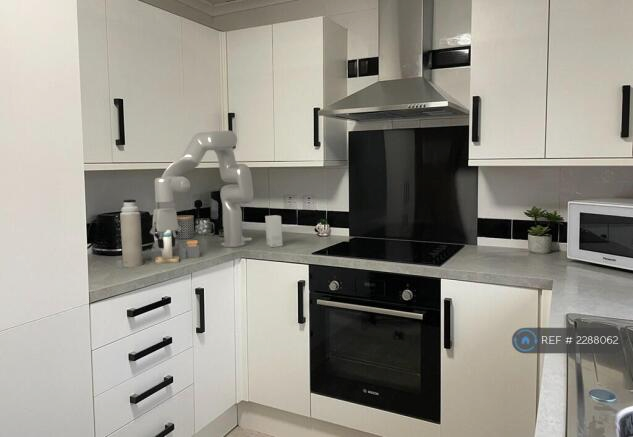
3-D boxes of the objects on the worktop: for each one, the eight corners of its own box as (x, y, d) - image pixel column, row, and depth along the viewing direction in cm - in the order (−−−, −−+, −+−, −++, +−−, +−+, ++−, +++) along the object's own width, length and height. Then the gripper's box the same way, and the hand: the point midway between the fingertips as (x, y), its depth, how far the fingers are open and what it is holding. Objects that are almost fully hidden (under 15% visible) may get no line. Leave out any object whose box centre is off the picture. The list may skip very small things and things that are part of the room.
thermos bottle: (119, 265, 216) (115, 199, 213) (136, 262, 222) (132, 198, 219) (129, 267, 211) (125, 200, 208) (146, 264, 217) (143, 199, 214)
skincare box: (282, 246, 258) (282, 216, 256) (270, 247, 255) (269, 216, 254) (277, 244, 266) (277, 214, 264) (265, 245, 263) (264, 215, 262)
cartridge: (174, 258, 223) (173, 229, 222) (165, 260, 220) (163, 230, 219) (168, 257, 227) (167, 228, 226) (159, 258, 224) (157, 229, 222)
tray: (179, 259, 228) (179, 255, 228) (179, 262, 221) (178, 258, 221) (156, 260, 226) (155, 257, 226) (155, 263, 219) (154, 260, 218)
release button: (197, 253, 237) (197, 240, 237) (197, 255, 233) (197, 241, 232) (187, 254, 236) (186, 240, 235) (187, 255, 232) (186, 242, 231)
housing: (199, 254, 240) (198, 239, 239) (199, 257, 231) (199, 242, 230) (152, 256, 235) (151, 241, 234) (151, 260, 225) (150, 245, 225)
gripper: (178, 204, 229) (179, 243, 231) (142, 206, 217) (144, 248, 220) (186, 204, 224) (188, 245, 226) (150, 207, 212) (152, 250, 214)
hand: (166, 246), depth 223 cm, fingers open, 4 cm apart
